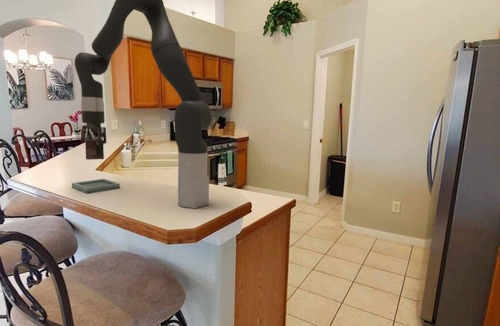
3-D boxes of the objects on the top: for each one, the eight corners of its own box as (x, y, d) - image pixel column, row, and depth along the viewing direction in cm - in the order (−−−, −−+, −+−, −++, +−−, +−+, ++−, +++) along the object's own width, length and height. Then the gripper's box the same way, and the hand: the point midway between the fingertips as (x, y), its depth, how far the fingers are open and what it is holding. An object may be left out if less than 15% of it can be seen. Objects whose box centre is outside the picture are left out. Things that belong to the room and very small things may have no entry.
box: (104, 159, 117) (103, 139, 116) (85, 160, 114) (85, 139, 113) (103, 157, 122) (103, 138, 121) (86, 157, 120) (85, 138, 118)
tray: (119, 188, 121) (119, 183, 121) (86, 193, 111) (86, 188, 111) (104, 183, 129) (104, 178, 128) (71, 187, 119) (71, 183, 119)
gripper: (112, 110, 114) (113, 155, 116) (94, 110, 123) (95, 151, 125) (91, 110, 108) (93, 157, 111) (73, 109, 117) (76, 152, 120)
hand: (94, 154), depth 118 cm, fingers closed on box, 7 cm apart
